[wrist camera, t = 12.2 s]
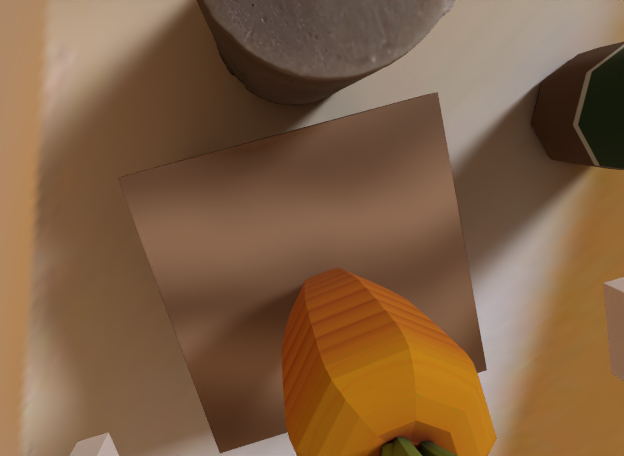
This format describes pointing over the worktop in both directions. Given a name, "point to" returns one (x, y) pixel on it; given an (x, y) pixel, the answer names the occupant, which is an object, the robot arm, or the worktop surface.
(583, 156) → the beer bottle
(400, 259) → the walnut stool
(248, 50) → the pillar candle
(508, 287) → the worktop surface
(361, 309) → the carrot
